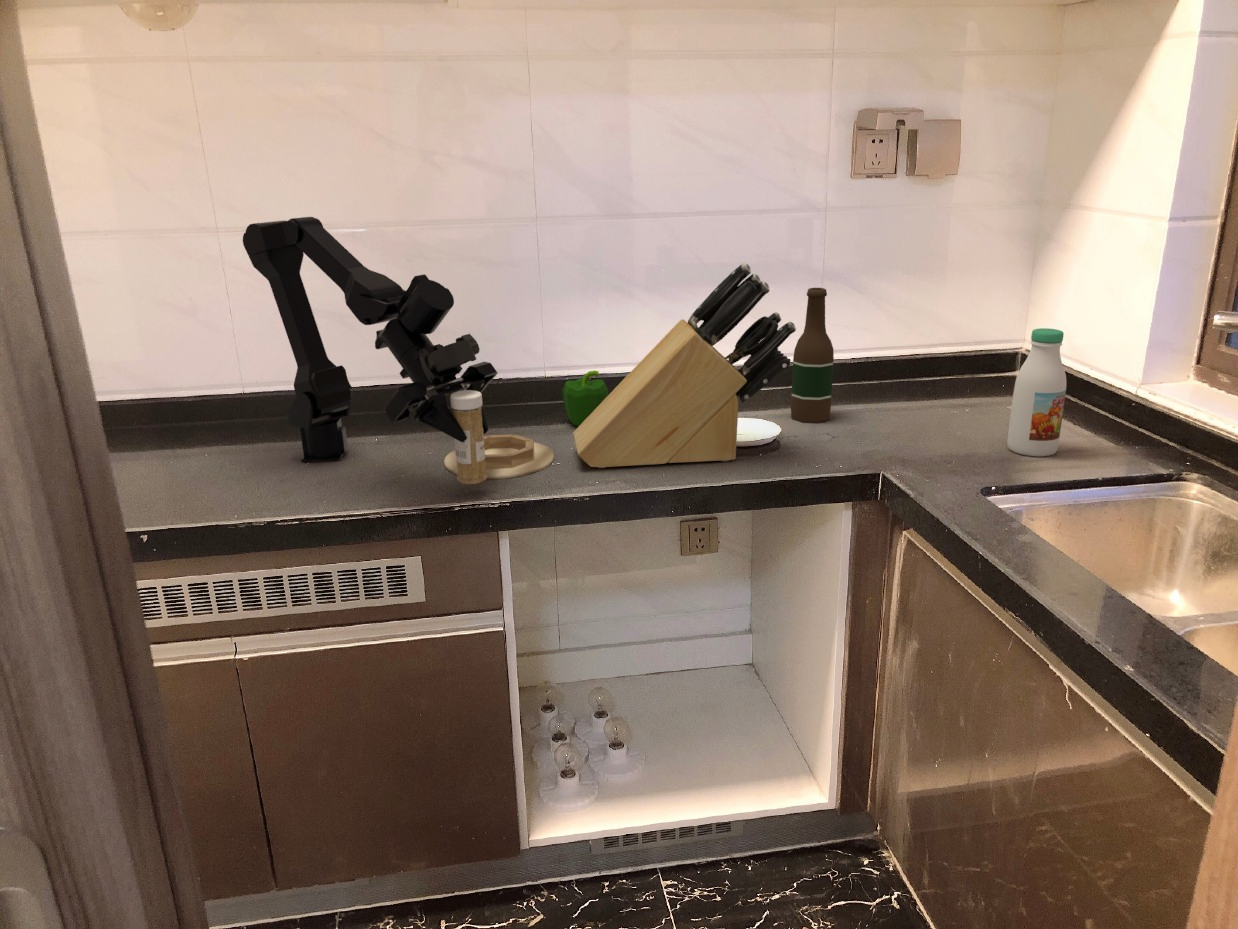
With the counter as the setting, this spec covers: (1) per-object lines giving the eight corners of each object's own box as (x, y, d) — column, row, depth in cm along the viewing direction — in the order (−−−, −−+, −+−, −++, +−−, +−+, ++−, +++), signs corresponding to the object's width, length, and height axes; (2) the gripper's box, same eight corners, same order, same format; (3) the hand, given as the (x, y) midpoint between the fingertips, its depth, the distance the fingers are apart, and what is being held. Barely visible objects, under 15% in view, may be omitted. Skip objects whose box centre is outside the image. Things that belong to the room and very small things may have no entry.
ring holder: (438, 481, 143) (437, 465, 143) (450, 445, 160) (449, 431, 160) (553, 476, 144) (552, 461, 144) (553, 441, 161) (553, 427, 161)
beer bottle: (800, 409, 177) (806, 284, 169) (838, 415, 172) (846, 287, 164) (782, 419, 171) (787, 289, 163) (821, 426, 166) (828, 293, 158)
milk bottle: (1007, 455, 150) (1022, 333, 143) (1005, 440, 156) (1020, 324, 150) (1058, 459, 147) (1077, 336, 140) (1055, 445, 154) (1072, 326, 147)
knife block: (793, 459, 150) (802, 267, 139) (578, 472, 146) (570, 276, 136) (774, 438, 160) (781, 258, 150) (573, 449, 157) (566, 266, 146)
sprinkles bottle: (492, 481, 137) (486, 394, 132) (464, 487, 135) (457, 399, 130) (479, 472, 140) (473, 387, 136) (451, 478, 138) (444, 392, 134)
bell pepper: (556, 427, 169) (553, 374, 166) (573, 415, 176) (571, 364, 173) (598, 431, 166) (597, 378, 163) (614, 419, 173) (613, 367, 170)
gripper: (391, 330, 124) (457, 421, 122) (484, 308, 139) (544, 389, 137) (358, 379, 131) (419, 466, 129) (450, 353, 146) (507, 431, 143)
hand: (475, 436), depth 134 cm, fingers closed on sprinkles bottle, 4 cm apart
